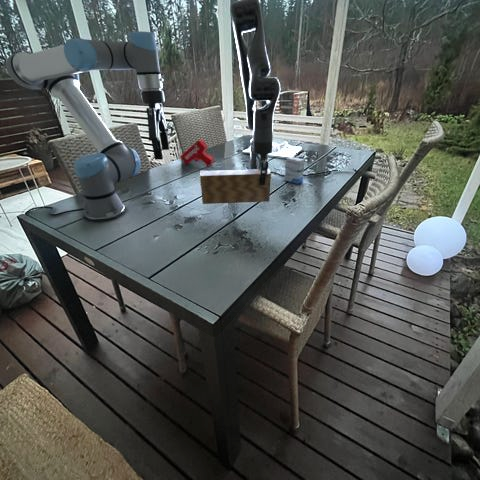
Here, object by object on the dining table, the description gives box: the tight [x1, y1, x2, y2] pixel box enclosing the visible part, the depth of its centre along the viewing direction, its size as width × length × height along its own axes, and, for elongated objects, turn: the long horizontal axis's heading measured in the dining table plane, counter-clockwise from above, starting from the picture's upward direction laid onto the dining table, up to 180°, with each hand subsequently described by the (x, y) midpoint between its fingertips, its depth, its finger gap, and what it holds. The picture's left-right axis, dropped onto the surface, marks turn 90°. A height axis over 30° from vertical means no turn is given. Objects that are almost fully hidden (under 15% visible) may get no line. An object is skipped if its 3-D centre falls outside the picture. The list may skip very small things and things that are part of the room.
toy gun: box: [179, 138, 215, 167], centre depth 167 cm, size 18×4×15 cm
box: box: [199, 168, 272, 205], centre depth 111 cm, size 28×6×12 cm, turn 94°
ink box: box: [284, 156, 306, 185], centre depth 140 cm, size 8×5×12 cm, turn 47°
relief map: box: [242, 141, 304, 160], centre depth 192 cm, size 27×35×5 cm
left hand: (162, 154), depth 102 cm, fingers open, 13 cm apart
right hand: (261, 181), depth 111 cm, fingers closed on box, 6 cm apart
